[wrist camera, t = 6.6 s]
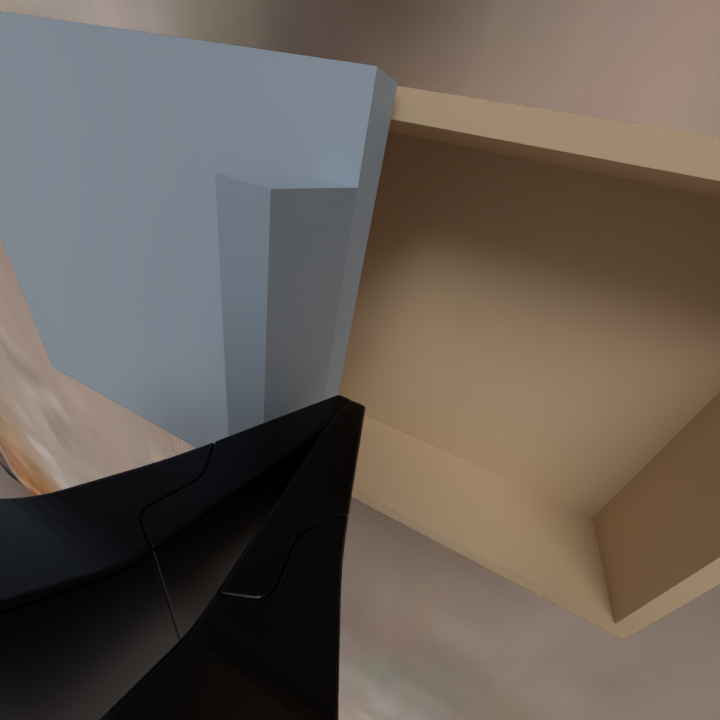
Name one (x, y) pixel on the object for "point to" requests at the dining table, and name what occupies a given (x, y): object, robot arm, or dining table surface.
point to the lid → (188, 215)
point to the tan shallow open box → (546, 351)
